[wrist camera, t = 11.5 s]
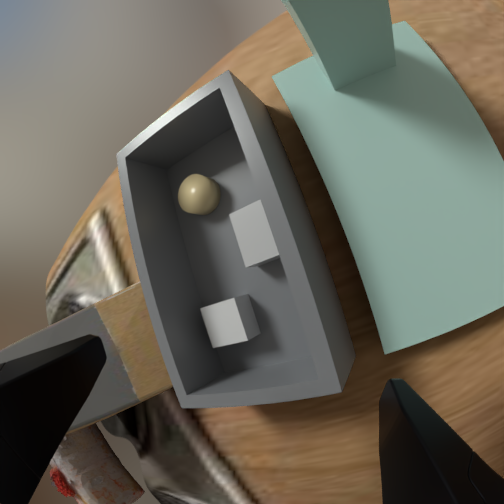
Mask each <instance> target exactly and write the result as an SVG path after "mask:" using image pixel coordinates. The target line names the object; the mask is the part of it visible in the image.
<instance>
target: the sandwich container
mask: <svg viewBox="0 0 504 504" xmlns="http://www.w3.org/2000/svg"><path fill="white" fill-rule="evenodd" d="M88 334H93V335H96V336H99V337H100V338H101V339H102V342H103V345H104V349H105V352H106V355H107V360H106V363H105V365H104V367H103V369H102V371H101V373H100V375H99V377H98V379H97V381H96V383H95V385H94V387H93V389H92V391H91V393H90V395H89V397H88V398H87V400H86V402H85V403H84V405H83V407H82V408H81V410H80V411H79V413H78V415H77V416H76V418H75V420H74V421H73V423H72V425H71V426H70V428H69V430H68V431H67V433H66V434H69V433H72V432H74V431H77V430H79V429H82V428H84V427H87V426H89V425H92V424H94V423H96V422H99V421H101V420H104V419H106V418H108V417H110V416H113V415H115V414H117V413H119V412H122V411H124V410H126V409H128V408H130V407H132V406H135V405H137V404H139V403H141V402H143V401H145V400H147V399H149V398H152V397H154V396H156V395H158V394H160V393H162V392H164V391H166V390H168V389H170V388H172V387H173V385H172V382H171V379H170V377H169V374H168V371H167V368H166V365H165V362H164V360H163V357H162V354H161V351H160V348H159V345H158V342H157V338H156V335H155V332H154V329H153V326H152V322H151V319H150V316H149V312H148V309H147V305H146V301H145V298H144V294H143V290H142V287H141V283H140V282H138V283H136V284H133V285H131V286H129V287H127V288H125V289H123V290H121V291H119V292H117V293H115V294H113V295H111V296H109V297H107V298H105V299H103V300H101V301H99V302H97V303H95V304H93V305H91V306H89V307H87V308H85V309H83V310H81V311H79V312H77V313H74V314H72V315H70V316H68V317H66V318H64V319H62V320H60V321H58V322H56V323H54V324H52V325H50V326H48V327H46V328H44V329H42V330H40V331H37V332H36V333H33V334H31V335H29V336H27V337H25V338H23V339H21V340H20V341H18V342H16V343H13V344H12V345H9V346H8V347H5V348H4V349H1V350H0V364H1V363H4V362H7V361H10V360H13V359H16V358H20V357H23V356H26V355H29V354H32V353H35V352H38V351H41V350H44V349H47V348H50V347H53V346H56V345H59V344H62V343H65V342H68V341H70V340H73V339H76V338H79V337H82V336H85V335H88Z"/></svg>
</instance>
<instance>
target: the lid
mask: <svg viewBox="0 0 504 504" xmlns="http://www.w3.org/2000/svg"><path fill="white" fill-rule="evenodd" d="M282 2H283V4H284V5H285V7H286V8H287V10H288V12H289V13H290V15H291V17H292V18H293V20H294V22H295V23H296V25H297V27H298V29H299V30H300V32H301V34H302V36H303V37H304V39H305V41H306V43H307V45H308V46H309V48H310V50H311V52H312V54H313V56H311V57H309V58H307V59H305V60H303V61H301V62H299V63H297V64H295V65H293V66H291V67H289V68H287V69H285V70H283V71H281V72H279V73H277V74H275V75H274V76H272V78H273V80H274V82H275V84H276V85H277V87H278V89H279V91H280V93H281V95H282V96H283V98H284V100H285V102H286V104H287V106H288V108H289V110H290V112H291V114H292V115H293V117H294V119H295V121H296V123H297V125H298V127H299V129H300V131H301V133H302V135H303V137H304V140H305V142H306V144H307V146H308V148H309V150H310V152H311V154H312V156H313V159H314V161H315V163H316V165H317V167H318V169H319V172H320V174H321V176H322V178H323V181H324V183H325V185H326V188H327V190H328V192H329V195H330V197H331V199H332V202H333V204H334V207H335V209H336V211H337V214H338V216H339V219H340V221H341V224H342V226H343V229H344V232H345V234H346V237H347V239H348V242H349V245H350V247H351V250H352V253H353V256H354V258H355V261H356V264H357V267H358V270H359V272H360V275H361V278H362V281H363V284H364V287H365V290H366V293H367V296H368V299H369V303H370V306H371V309H372V312H373V315H374V319H375V322H376V325H377V329H378V332H379V336H380V339H381V343H382V347H383V350H384V354H388V353H391V352H394V351H397V350H400V349H403V348H406V347H409V346H412V345H415V344H417V343H420V342H423V341H426V340H428V339H431V338H433V337H436V336H439V335H441V334H444V333H446V332H449V331H451V330H453V329H456V328H458V327H460V326H463V325H465V324H467V323H469V322H472V321H474V320H476V319H478V318H480V317H482V316H485V315H487V314H489V313H491V312H493V311H495V310H497V309H499V308H501V307H503V306H504V161H503V159H502V157H501V155H500V153H499V151H498V149H497V147H496V145H495V143H494V141H493V139H492V137H491V135H490V133H489V132H488V130H487V128H486V126H485V125H484V123H483V121H482V119H481V118H480V116H479V114H478V113H477V111H476V109H475V108H474V106H473V105H472V103H471V102H470V100H469V99H468V97H467V96H466V94H465V93H464V91H463V90H462V88H461V87H460V85H459V84H458V83H457V81H456V80H455V78H454V77H453V76H452V74H451V73H450V72H449V70H448V69H447V68H446V67H445V65H444V64H443V63H442V62H441V60H440V59H439V58H438V57H437V55H436V54H435V53H434V52H433V51H432V49H431V48H430V47H429V46H428V45H427V44H426V43H425V41H424V40H423V39H422V38H421V37H420V36H419V35H418V34H417V33H416V32H415V31H414V30H413V29H412V28H411V26H410V25H409V24H408V23H407V22H406V21H402V22H399V23H395V24H392V22H391V15H390V9H389V3H388V0H282Z"/></svg>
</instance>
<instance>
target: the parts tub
mask: <svg viewBox="0 0 504 504" xmlns="http://www.w3.org/2000/svg"><path fill="white" fill-rule="evenodd" d="M117 163H118V170H119V178H120V184H121V191H122V197H123V203H124V209H125V214H126V220H127V225H128V230H129V235H130V240H131V244H132V249H133V254H134V258H135V262H136V266H137V271H138V275H139V279H140V283H141V287H142V290H143V294H144V298H145V301H146V305H147V309H148V312H149V316H150V319H151V322H152V326H153V329H154V332H155V335H156V338H157V342H158V345H159V348H160V351H161V354H162V357H163V360H164V362H165V365H166V368H167V371H168V374H169V377H170V379H171V382H172V385H173V387H174V390H175V393H176V395H177V398H178V400H179V403H180V405H181V408H217V407H236V406H249V405H260V404H270V403H279V402H287V401H294V400H301V399H307V398H313V397H319V396H325V395H330V394H335V393H340V392H342V391H343V388H344V386H345V383H346V381H347V378H348V376H349V373H350V371H351V368H352V365H353V363H354V360H355V357H356V355H355V351H354V347H353V344H352V340H351V337H350V333H349V330H348V326H347V323H346V320H345V316H344V313H343V310H342V306H341V303H340V300H339V297H338V294H337V291H336V287H335V284H334V281H333V278H332V275H331V272H330V269H329V266H328V263H327V260H326V257H325V254H324V251H323V249H322V246H321V243H320V240H319V237H318V234H317V232H316V229H315V226H314V223H313V221H312V218H311V215H310V213H309V210H308V207H307V205H306V202H305V199H304V197H303V194H302V192H301V189H300V186H299V184H298V181H297V179H296V176H295V174H294V171H293V169H292V166H291V164H290V162H289V159H288V157H287V154H286V152H285V150H284V147H283V145H282V143H281V140H280V138H279V136H278V133H277V131H276V129H275V126H274V124H273V122H272V120H271V117H270V115H269V113H268V111H267V108H266V106H265V104H264V103H263V102H262V101H261V100H260V99H259V98H258V97H257V96H256V95H255V94H254V93H253V92H252V91H251V90H249V89H248V88H247V87H246V86H245V85H244V84H243V83H242V82H241V81H240V80H239V79H238V78H237V77H236V76H235V75H233V74H232V73H231V72H230V71H229V70H228V71H226V72H224V73H223V74H221V75H220V76H218V77H216V78H215V79H213V80H212V81H210V82H209V83H207V84H206V85H204V86H203V87H201V88H200V89H198V90H197V91H195V92H194V93H192V94H191V95H190V96H188V97H187V98H185V99H184V100H182V101H181V102H180V103H178V104H177V105H176V106H174V107H173V108H172V109H170V110H169V111H168V112H166V113H165V114H164V115H162V116H161V117H160V118H159V119H157V120H156V121H155V122H154V123H152V124H151V125H150V126H149V127H147V128H146V129H145V130H144V131H142V132H141V133H140V134H139V135H138V136H137V137H136V138H134V139H133V140H132V141H131V142H130V143H128V144H127V145H126V146H125V147H124V148H123V149H122V150H121V151H120V152H118V153H117Z"/></svg>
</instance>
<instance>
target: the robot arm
mask: <svg viewBox="0 0 504 504" xmlns="http://www.w3.org/2000/svg"><path fill="white" fill-rule="evenodd" d="M106 360H107V355H106V352H105V349H104V345H103V342H102V339H101V338H100V337H99V336H96V335H93V334H88V335H85V336H82V337H79V338H76V339H73V340H70V341H68V342H65V343H62V344H59V345H56V346H53V347H50V348H47V349H44V350H41V351H38V352H35V353H32V354H29V355H26V356H23V357H20V358H16V359H13V360H10V361H7V362H4V363H1V364H0V503H1V504H28V503H29V502H30V499H31V498H32V496H33V494H34V492H35V489H36V488H37V486H38V484H39V482H40V480H41V478H42V476H43V474H44V472H45V470H46V469H47V467H48V465H49V463H50V461H51V459H52V458H53V456H54V454H55V452H56V451H57V449H58V447H59V445H60V444H61V442H62V440H63V438H64V437H65V435H66V433H67V431H68V430H69V428H70V426H71V425H72V423H73V421H74V420H75V418H76V416H77V415H78V413H79V411H80V410H81V408H82V407H83V405H84V403H85V402H86V400H87V398H88V397H89V395H90V393H91V391H92V389H93V387H94V385H95V383H96V381H97V379H98V377H99V375H100V373H101V371H102V369H103V367H104V365H105V363H106ZM472 451H473V450H472V449H471V448H470V446H469V445H468V444H467V443H466V442H465V441H464V440H463V439H462V438H461V437H460V436H459V435H458V434H457V433H456V432H455V431H454V430H453V429H452V428H451V427H450V426H449V425H448V424H447V423H446V422H445V421H444V420H443V419H442V418H441V417H440V416H439V415H438V414H437V413H436V412H435V411H434V410H433V409H432V408H431V407H430V406H429V405H428V404H427V403H426V402H425V401H424V400H423V399H422V398H421V397H420V396H419V395H418V394H417V393H416V392H415V391H414V390H413V389H412V388H411V387H410V386H409V385H408V384H407V383H406V382H405V381H404V380H403V379H389V380H388V381H387V383H386V386H385V388H384V391H383V393H382V395H381V398H380V402H379V456H380V467H381V480H382V498H383V504H504V479H503V478H502V477H501V476H500V475H498V474H497V473H496V472H495V471H494V470H493V469H492V468H491V467H489V466H488V465H487V464H486V463H485V462H484V461H483V460H482V459H481V458H480V457H479V456H478V455H477V454H476V453H475V452H474V451H473V452H472Z"/></svg>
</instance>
